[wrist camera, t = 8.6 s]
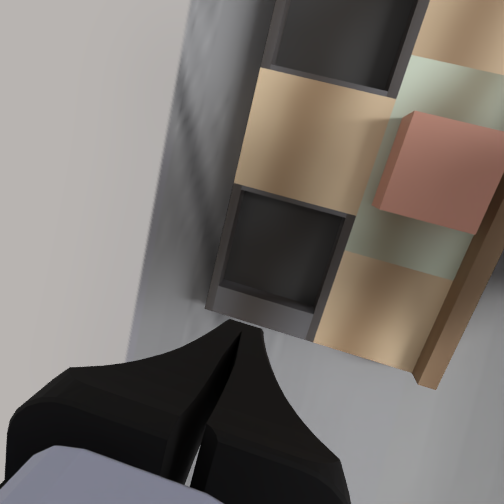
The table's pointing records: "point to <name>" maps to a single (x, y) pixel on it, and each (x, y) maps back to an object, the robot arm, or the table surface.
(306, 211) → the trap board
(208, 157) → the table surface
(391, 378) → the table surface
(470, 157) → the tile block
